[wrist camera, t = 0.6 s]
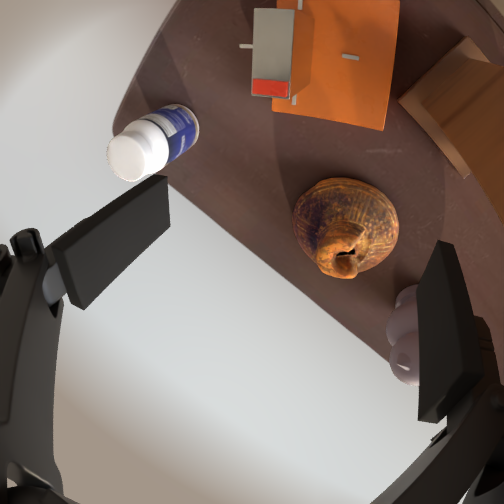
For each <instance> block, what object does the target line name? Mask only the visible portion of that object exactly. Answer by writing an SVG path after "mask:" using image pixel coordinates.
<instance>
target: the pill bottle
mask: <svg viewBox="0 0 504 504" xmlns="http://www.w3.org/2000/svg"><path fill="white" fill-rule="evenodd" d="M198 135H199V124H198V121H197V119H196V117H195V115H194V114H193V112H192V111H191V110H189V109H188V108H187V107H185V106H183V105H179V104H171V105H167V106H165V107H163V108H160V109H158V110H156V111H154V112H152V113H150V114H147V115H145V116H143V117H141V118H139V119H137V120H135V121H133V122H131V123H130V124H129V125H127V126H126V128H125V129H124V130H123V132H122V133H120V134H119V135H117V136H115V137H114V138H113V139H112V140H111V141H110V142H109V145H108V147H107V160H108V162H109V165H110V167H111V169H112V170H113V172H114V173H115V174H116V175H117V176H118V177H120V178H121V179H123V180H126V181H136V180H139V179H140V178H142V177H143V176H145V175H146V174H151V173H155V172H157V171H159V170H161V169H162V168H163V167H165V166H166V165H167V164H169V163H170V162H171V161H173V160H174V159H175V158H177V157H178V156H179V155H181V154H182V153H184V152H185V151H186V150H188V149H189V148H190V147H192V146H193V145H194V143H195V142H196V140H197V138H198Z"/></svg>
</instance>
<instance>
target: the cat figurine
mask: <svg viewBox="0 0 504 504" xmlns="http://www.w3.org/2000/svg"><path fill="white" fill-rule="evenodd" d="M418 285H419V284H417V285H412V286H409V287H407V288H405V289H404V290H402V291H401V292H400V293H399V295H398V296H397V298H396V303H395V310H394V311H393V312H392V313H391V315H390V317H389V318H388V320H387V326H386V334H387V337H388V340H389V342H390V344H391V345H392V346H393V348H392V350H391V353H390V359H389V363H390V367H391V369H392V371H393V374H394V375H395V376H396V377H397V378H398V379H399V380H400V381H402V382H404V383H406V384H409V385H413V386H419V333H418V314H417V300H416V289H417V287H418Z"/></svg>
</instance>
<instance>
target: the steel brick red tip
mask: <svg viewBox="0 0 504 504" xmlns="http://www.w3.org/2000/svg"><path fill="white" fill-rule="evenodd" d="M314 23H315V19H314V18H312V17H310V16H308V15H305V14H303V13H301V12H299V11H297V10H294V9H277V8H254V27H253V57H252V89H251V95H252V96H261V97H270V98H279V99H287V100H289V99H291V98H292V97H293V96H295V95H296V94H297V93H298V92H300V91H301V90H302V89H304V88H305V87H306V86H308V85H309V84H310V78H311V65H312V52H313V38H314Z"/></svg>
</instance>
